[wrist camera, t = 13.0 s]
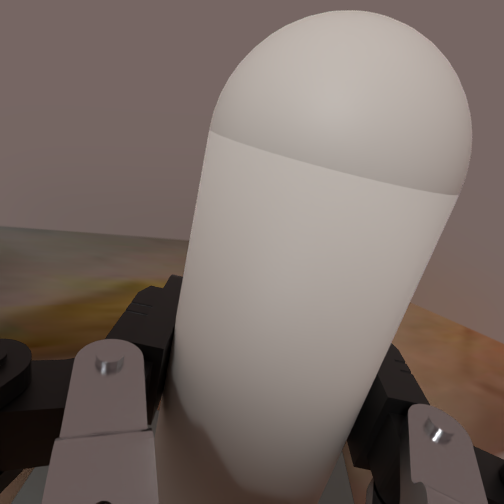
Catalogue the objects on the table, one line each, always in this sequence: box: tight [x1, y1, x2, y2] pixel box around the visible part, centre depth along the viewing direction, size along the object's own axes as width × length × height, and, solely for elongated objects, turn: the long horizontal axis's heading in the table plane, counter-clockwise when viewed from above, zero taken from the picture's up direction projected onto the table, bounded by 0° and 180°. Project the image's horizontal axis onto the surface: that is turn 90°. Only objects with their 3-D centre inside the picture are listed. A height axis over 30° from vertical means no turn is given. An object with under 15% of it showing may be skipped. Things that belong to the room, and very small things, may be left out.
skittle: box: [154, 11, 472, 504], centre depth 9 cm, size 6×6×16 cm
